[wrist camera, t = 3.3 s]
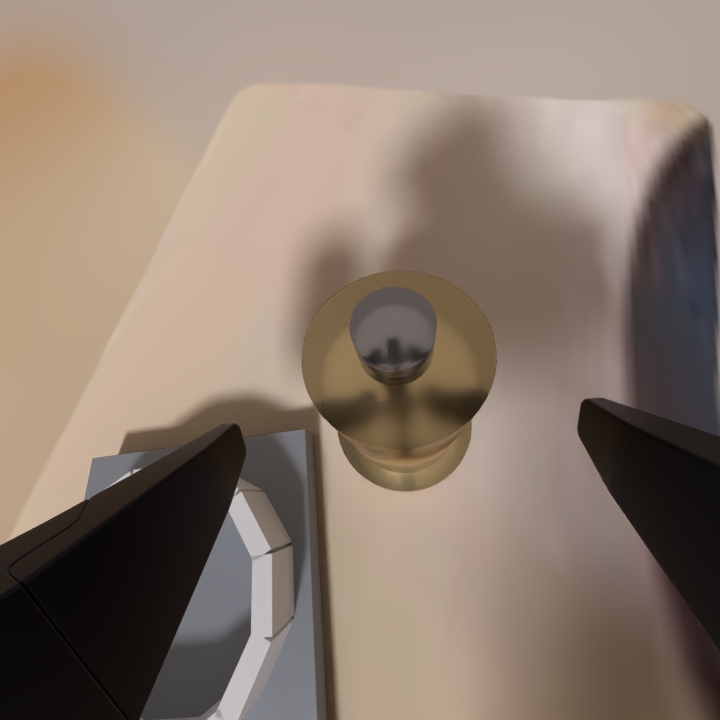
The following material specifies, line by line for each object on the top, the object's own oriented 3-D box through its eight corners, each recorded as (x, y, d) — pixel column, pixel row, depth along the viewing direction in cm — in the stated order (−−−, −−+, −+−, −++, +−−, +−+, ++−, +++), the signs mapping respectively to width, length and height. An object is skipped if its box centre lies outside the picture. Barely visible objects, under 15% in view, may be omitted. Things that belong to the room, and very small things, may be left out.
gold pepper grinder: (495, 426, 17) (624, 318, 7) (403, 522, 16) (388, 567, 6) (402, 344, 20) (394, 173, 9) (317, 422, 19) (199, 328, 8)
